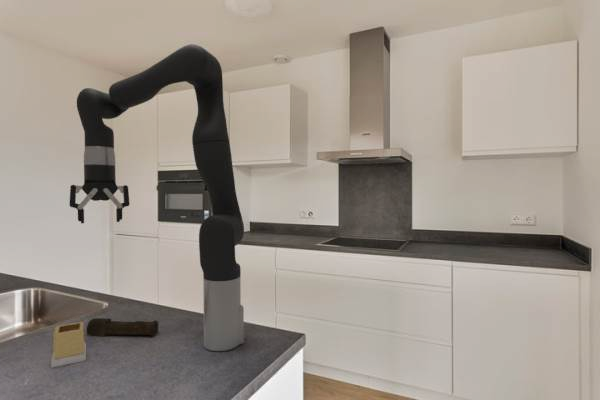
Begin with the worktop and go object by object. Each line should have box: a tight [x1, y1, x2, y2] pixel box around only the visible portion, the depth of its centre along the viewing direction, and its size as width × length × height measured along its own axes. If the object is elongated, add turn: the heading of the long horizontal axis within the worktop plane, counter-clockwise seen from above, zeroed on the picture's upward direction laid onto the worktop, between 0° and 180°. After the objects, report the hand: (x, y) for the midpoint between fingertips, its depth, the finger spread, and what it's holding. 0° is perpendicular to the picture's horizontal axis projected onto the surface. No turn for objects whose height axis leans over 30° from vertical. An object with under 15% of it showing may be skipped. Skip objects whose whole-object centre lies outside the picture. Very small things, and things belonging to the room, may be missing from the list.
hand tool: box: [86, 317, 159, 338], centre depth 93 cm, size 19×4×5 cm, turn 87°
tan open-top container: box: [53, 321, 85, 359], centre depth 80 cm, size 6×6×6 cm
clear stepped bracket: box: [50, 342, 87, 369], centre depth 84 cm, size 6×17×5 cm, turn 31°
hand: (100, 222), depth 95 cm, fingers open, 8 cm apart
